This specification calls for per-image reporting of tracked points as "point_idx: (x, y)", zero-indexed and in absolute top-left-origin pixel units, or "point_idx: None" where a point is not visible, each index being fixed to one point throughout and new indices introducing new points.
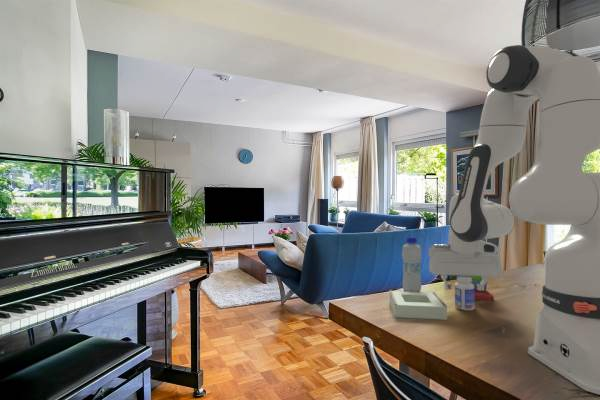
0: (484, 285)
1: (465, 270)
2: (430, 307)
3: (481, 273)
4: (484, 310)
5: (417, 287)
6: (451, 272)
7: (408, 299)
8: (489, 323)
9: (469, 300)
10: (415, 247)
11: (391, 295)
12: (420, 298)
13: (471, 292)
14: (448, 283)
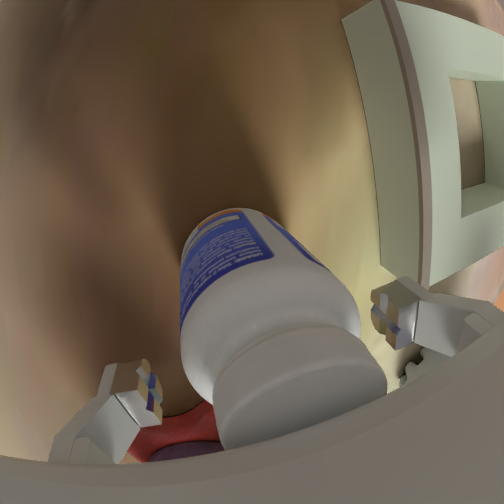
0: None
1: (350, 487)
2: (440, 13)
3: (89, 491)
4: (127, 264)
5: (431, 368)
6: (498, 353)
7: (489, 194)
8: (121, 32)
9: (217, 232)
10: None
11: None
12: (465, 206)
13: (205, 270)
14: (414, 314)
